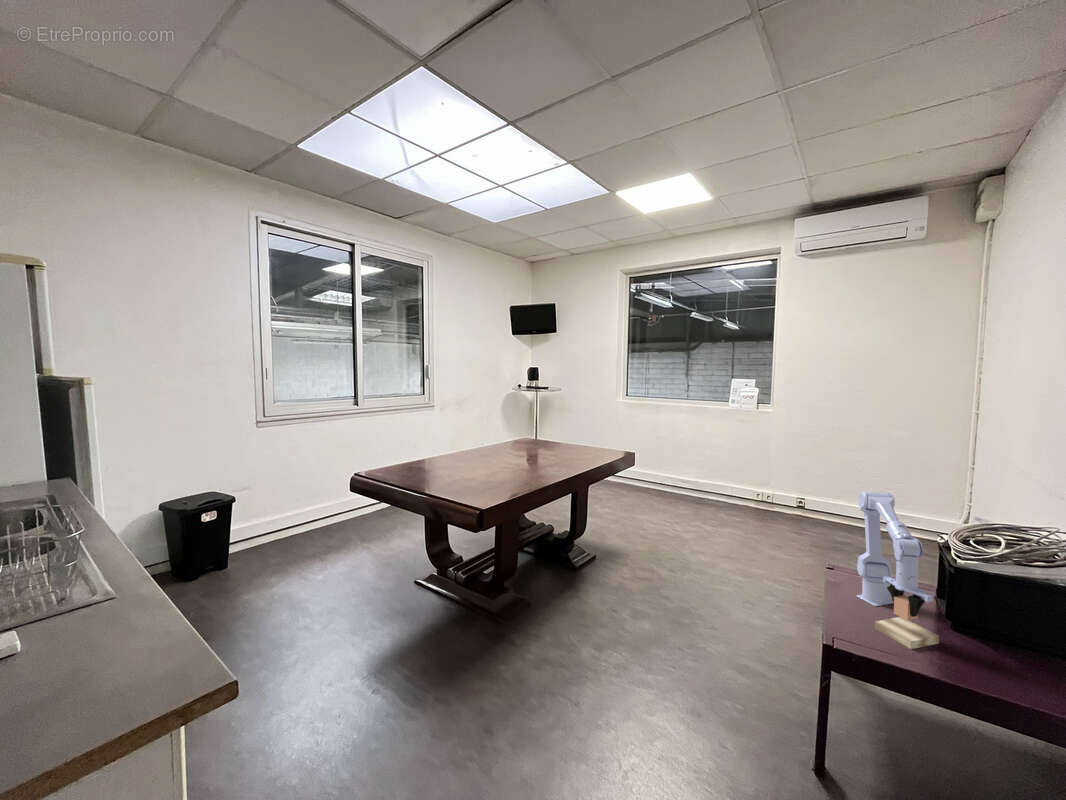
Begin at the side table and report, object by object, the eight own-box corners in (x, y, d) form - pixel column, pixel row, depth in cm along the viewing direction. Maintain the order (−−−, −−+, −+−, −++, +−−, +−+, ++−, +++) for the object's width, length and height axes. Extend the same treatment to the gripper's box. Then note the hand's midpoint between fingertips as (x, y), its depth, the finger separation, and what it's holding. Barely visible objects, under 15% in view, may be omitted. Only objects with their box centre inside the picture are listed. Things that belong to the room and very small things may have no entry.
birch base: (901, 624, 156) (901, 616, 156) (938, 644, 145) (939, 635, 145) (874, 629, 154) (874, 621, 154) (910, 650, 142) (910, 641, 142)
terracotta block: (903, 611, 152) (904, 595, 151) (917, 618, 147) (918, 601, 147) (893, 613, 151) (894, 596, 150) (907, 620, 146) (907, 603, 146)
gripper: (876, 565, 154) (875, 602, 155) (921, 585, 140) (920, 625, 141) (892, 563, 156) (891, 599, 157) (937, 582, 142) (936, 622, 142)
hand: (906, 611), depth 149 cm, fingers closed on terracotta block, 4 cm apart
